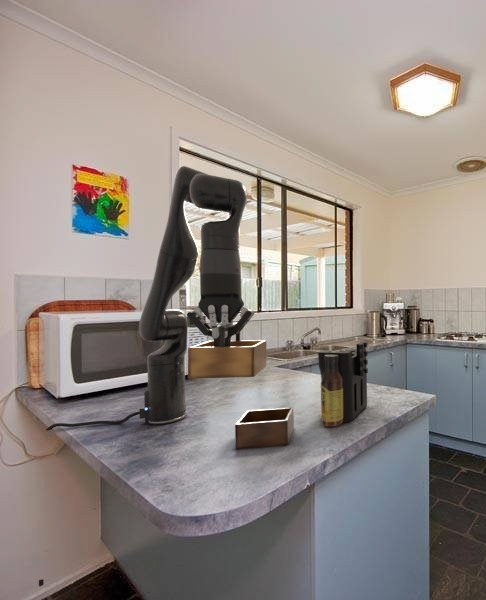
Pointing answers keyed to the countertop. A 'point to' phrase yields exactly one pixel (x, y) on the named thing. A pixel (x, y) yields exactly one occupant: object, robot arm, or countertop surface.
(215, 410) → the countertop surface
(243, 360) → the box
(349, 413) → the black machined bracket
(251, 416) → the bottom basket
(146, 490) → the countertop surface
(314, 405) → the countertop surface
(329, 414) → the sauce bottle
